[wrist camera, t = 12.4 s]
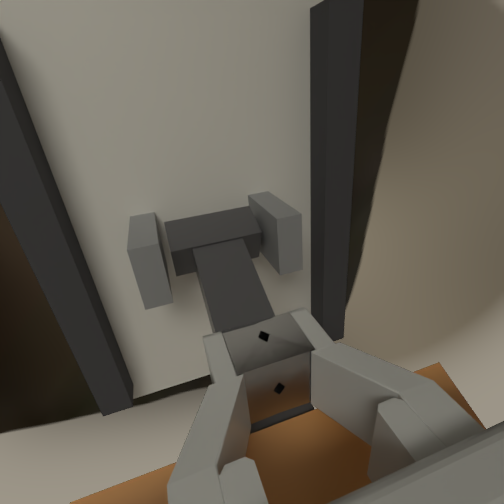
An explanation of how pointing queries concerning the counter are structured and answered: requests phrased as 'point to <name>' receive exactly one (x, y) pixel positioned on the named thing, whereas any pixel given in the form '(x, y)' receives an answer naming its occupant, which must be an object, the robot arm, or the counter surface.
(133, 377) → the box
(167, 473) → the lever
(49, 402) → the counter surface
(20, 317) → the counter surface
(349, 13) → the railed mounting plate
